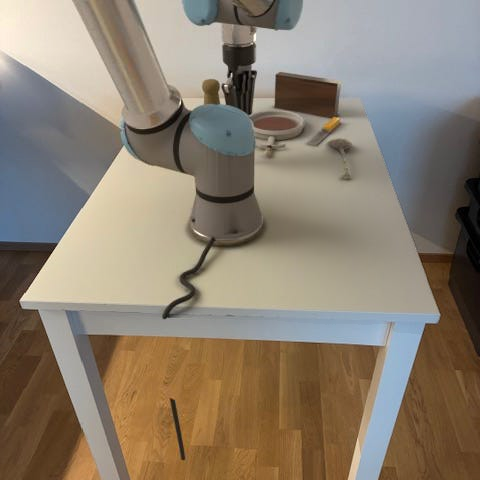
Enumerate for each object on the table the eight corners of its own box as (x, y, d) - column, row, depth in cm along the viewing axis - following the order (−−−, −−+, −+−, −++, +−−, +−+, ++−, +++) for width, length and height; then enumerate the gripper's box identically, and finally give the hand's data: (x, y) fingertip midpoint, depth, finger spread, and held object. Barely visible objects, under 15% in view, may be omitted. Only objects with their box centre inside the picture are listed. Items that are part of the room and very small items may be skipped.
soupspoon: (350, 145, 133) (326, 146, 134) (351, 133, 131) (326, 133, 132) (359, 179, 116) (331, 180, 117) (360, 166, 114) (332, 167, 115)
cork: (213, 113, 151) (211, 75, 143) (226, 118, 147) (225, 79, 140) (198, 118, 148) (196, 80, 140) (211, 124, 144) (209, 84, 137)
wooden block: (333, 118, 146) (337, 83, 140) (274, 107, 154) (275, 74, 147) (337, 115, 148) (341, 80, 142) (278, 104, 156) (279, 71, 149)
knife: (316, 145, 132) (317, 139, 131) (308, 144, 133) (308, 138, 132) (340, 123, 143) (340, 118, 142) (332, 122, 144) (333, 116, 143)
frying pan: (234, 147, 126) (250, 107, 146) (235, 158, 128) (250, 117, 148) (300, 151, 124) (307, 109, 144) (299, 161, 126) (306, 119, 146)
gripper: (239, 52, 101) (241, 160, 117) (267, 37, 109) (266, 140, 125) (208, 48, 104) (214, 154, 120) (238, 34, 112) (240, 135, 128)
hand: (241, 147), depth 122 cm, fingers closed
